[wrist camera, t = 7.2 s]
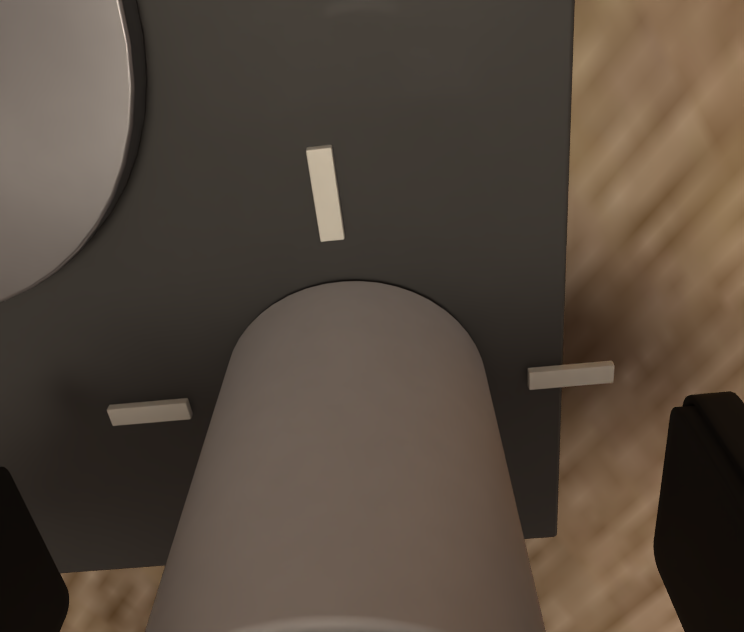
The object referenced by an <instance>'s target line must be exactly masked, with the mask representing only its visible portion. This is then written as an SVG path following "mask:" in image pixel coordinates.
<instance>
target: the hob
mask: <svg viewBox="0 0 744 632" xmlns="http://www.w3.org/2000/svg"><path fill="white" fill-rule="evenodd" d="M136 3H137V8H138V13H139V18H140V23H141V28H142V33H143V40H144V53H145V67H146V95H145V114H144V121H143V127H142V132H141V137H140V142H139V147H138V152H137V155H136V158H135V161H134V164H133V166H132V169H131V172H130V175H129V178H128V180H127V183H126V185H125V187H124V189H123V191H122V193H121V195H120V196H119V198H118V200H117V202H116V204H115V206H114V207H113V209H112V211H111V213H110V214H109V215H108V217H107V218H106V219H105V221H104V222H103V223H102V224H101V226H100V227H99V228H98V230H97V231H96V232H95V233H94V235H93V236H92V237H91V238H90V240H89V241H88V242H87V243H86V244H85V246H84V247H83V248H82V249H81V250H80V251H79V252H78V253H77V254H76V255H75V256H74V257H73V258H72V259H71V260H70V261H69V262H67V263H66V264H65V265H64V266H63V267H62V268H61V269H60V270H59V271H57V272H56V273H54V274H53V275H51V276H50V277H48V278H47V279H45V280H44V281H42V282H41V283H39V284H38V285H36V286H35V287H33V288H31V289H29V290H27V291H25V292H23V293H21V294H19V295H16V296H14V297H12V298H10V299H8V300H6V301H3V302H0V466H1V467H5V468H6V469H8V471H9V472H10V474H11V476H12V478H13V480H14V482H15V484H16V486H17V488H18V490H19V492H20V494H21V496H22V498H23V500H24V502H25V504H26V506H27V508H28V510H29V512H30V514H31V516H32V518H33V520H34V522H35V524H36V526H37V528H38V530H39V532H40V534H41V536H42V538H43V540H44V542H45V544H46V546H47V548H48V550H49V552H50V554H51V556H52V558H53V560H54V563H55V565H56V567H57V569H58V571H59V573H70V572H83V571H97V570H110V569H124V568H138V567H151V566H165V565H166V562H167V559H168V556H169V553H170V550H171V546H172V543H173V540H174V537H175V534H176V530H177V527H178V524H179V521H180V518H181V514H182V511H183V508H184V505H185V502H186V498H187V495H188V492H189V489H190V486H191V482H192V479H193V476H194V473H195V470H196V466H197V463H198V460H199V457H200V454H201V450H202V447H203V444H204V441H205V438H206V434H207V431H208V428H209V425H210V422H211V418H212V415H213V412H214V409H215V406H216V402H217V399H218V396H219V393H220V390H221V386H222V383H223V380H224V377H225V374H226V370H227V367H228V364H229V361H230V358H231V355H232V352H233V350H234V348H235V346H236V344H237V342H238V340H239V338H240V337H241V335H242V334H243V333H244V331H245V330H246V329H247V327H248V326H249V325H250V324H251V323H252V322H253V321H254V320H255V319H256V318H257V317H258V316H259V315H260V314H261V313H262V312H264V311H265V310H266V309H268V308H269V307H270V306H272V305H273V304H275V303H277V302H278V301H280V300H282V299H284V298H286V297H287V296H289V295H291V294H294V293H296V292H299V291H301V290H304V289H307V288H310V287H314V286H318V285H322V284H327V283H334V282H341V281H366V282H377V283H382V284H387V285H392V286H396V287H399V288H402V289H405V290H408V291H411V292H414V293H416V294H418V295H420V296H422V297H424V298H426V299H428V300H430V301H432V302H433V303H435V304H436V305H438V306H439V307H441V308H442V309H444V310H445V311H446V312H448V313H449V314H450V315H451V316H452V317H453V318H455V319H456V320H457V321H458V322H459V323H460V325H461V326H462V327H463V328H464V329H465V330H466V331H467V332H468V334H469V336H470V337H471V339H472V340H473V342H474V343H475V345H476V347H477V349H478V351H479V354H480V356H481V358H482V361H483V365H484V369H485V373H486V377H487V381H488V386H489V390H490V394H491V398H492V403H493V407H494V411H495V416H496V420H497V424H498V429H499V433H500V437H501V441H502V446H503V450H504V454H505V459H506V463H507V467H508V472H509V476H510V480H511V484H512V489H513V493H514V497H515V502H516V506H517V510H518V515H519V519H520V523H521V527H522V532H523V536H524V539H530V538H544V537H554V536H556V535H557V515H558V485H559V455H560V425H561V395H562V387H569V386H581V385H592V384H604V383H613V379H614V367H615V366H614V364H613V362H612V361H601V362H589V363H578V364H567V365H563V335H564V306H565V276H566V246H567V216H568V186H569V156H570V126H571V96H572V66H573V36H574V6H575V0H136Z"/></svg>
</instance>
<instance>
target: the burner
mask: <svg viewBox="0 0 744 632" xmlns="http://www.w3.org/2000/svg"><path fill="white" fill-rule="evenodd" d="M145 95H146V67H145V53H144V40H143V33H142V28H141V23H140V18H139V13H138V8H137V3H136V0H0V302H3V301H6V300H8V299H10V298H12V297H14V296H16V295H19V294H21V293H23V292H25V291H27V290H29V289H31V288H33V287H35V286H36V285H38V284H39V283H41V282H42V281H44V280H45V279H47V278H48V277H50V276H51V275H53V274H54V273H56V272H57V271H59V270H60V269H61V268H62V267H63V266H64V265H65V264H66V263H67V262H69V261H70V260H71V259H72V258H73V257H74V256H75V255H76V254H77V253H78V252H79V251H80V250H81V249H82V248H83V247H84V246H85V244H86V243H87V242H88V241H89V240H90V238H91V237H92V236H93V235H94V233H95V232H96V231H97V230H98V228H99V227H100V226H101V224H102V223H103V222H104V221H105V219H106V218H107V217H108V215H109V214H110V213H111V211H112V209H113V207H114V206H115V204H116V202H117V200H118V198H119V196H120V195H121V193H122V191H123V189H124V187H125V185H126V183H127V180H128V178H129V175H130V172H131V169H132V166H133V164H134V161H135V158H136V155H137V152H138V147H139V142H140V137H141V132H142V127H143V121H144V114H145Z"/></svg>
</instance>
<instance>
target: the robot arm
mask: <svg viewBox="0 0 744 632" xmlns="http://www.w3.org/2000/svg"><path fill="white" fill-rule="evenodd" d="M654 556H655V561H656V565H657V568H658V571H659V573H660V576H661V578H662V580H663V583H664V585H665V587H666V589H667V592H668V594H669V596H670V599H671V601H672V603H673V606H674V608H675V610H676V613H677V615H678V617H679V620H680V622H681V624H682V627H683V629H684V631H685V632H744V403H743V402H742V400H741V399H740V398H739V397H738V396H737V395H736V394H735V393H733V392H719V393H708V394H696V395H689V396H687V397H686V398H685V400H684V402H683V407H675V408H673V409H672V411H671V415H670V421H669V429H668V436H667V444H666V452H665V459H664V467H663V475H662V482H661V490H660V498H659V505H658V513H657V521H656V528H655V536H654ZM68 607H69V593H68V589H67V587H66V585H65V583H64V581H63V579H62V577H61V575H60V573H59V571H58V569H57V567H56V565H55V563H54V560H53V558H52V556H51V554H50V552H49V550H48V548H47V546H46V544H45V542H44V540H43V538H42V536H41V534H40V532H39V530H38V528H37V526H36V524H35V522H34V520H33V518H32V516H31V514H30V512H29V510H28V508H27V506H26V504H25V502H24V500H23V498H22V496H21V494H20V492H19V490H18V488H17V486H16V484H15V482H14V480H13V478H12V476H11V474H10V472H9V471H8V469H6V468H5V467H1V466H0V632H60V629H61V627H62V625H63V622H64V620H65V618H66V615H67V612H68Z"/></svg>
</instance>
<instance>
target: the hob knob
mask: <svg viewBox="0 0 744 632" xmlns="http://www.w3.org/2000/svg"><path fill="white" fill-rule="evenodd" d="M145 632H546V631H545V626H544V622H543V618H542V614H541V609H540V605H539V601H538V596H537V592H536V588H535V583H534V579H533V575H532V571H531V566H530V562H529V558H528V553H527V549H526V545H525V540H524V536H523V532H522V527H521V523H520V519H519V515H518V510H517V506H516V502H515V497H514V493H513V489H512V484H511V480H510V476H509V472H508V467H507V463H506V459H505V454H504V450H503V446H502V441H501V437H500V433H499V429H498V424H497V420H496V416H495V411H494V407H493V403H492V398H491V394H490V390H489V386H488V381H487V377H486V373H485V369H484V365H483V361H482V358H481V356H480V354H479V351H478V349H477V347H476V345H475V343H474V342H473V340H472V339H471V337H470V336H469V334H468V332H467V331H466V330H465V329H464V328H463V327H462V326H461V325H460V323H459V322H458V321H457V320H456V319H455V318H453V317H452V316H451V315H450V314H449V313H448V312H446V311H445V310H444V309H442V308H441V307H439V306H438V305H436V304H435V303H433V302H432V301H430V300H428V299H426V298H424V297H422V296H420V295H418V294H416V293H414V292H411V291H408V290H405V289H402V288H399V287H396V286H392V285H387V284H382V283H377V282H366V281H341V282H334V283H327V284H322V285H318V286H314V287H310V288H307V289H304V290H301V291H299V292H296V293H294V294H291V295H289V296H287V297H286V298H284V299H282V300H280V301H278V302H277V303H275V304H273V305H272V306H270V307H269V308H268V309H266V310H265V311H264V312H262V313H261V314H260V315H259V316H258V317H257V318H256V319H255V320H254V321H253V322H252V323H251V324H250V325H249V326H248V327H247V329H246V330H245V331H244V333H243V334H242V335H241V337H240V338H239V340H238V342H237V344H236V346H235V348H234V350H233V352H232V355H231V358H230V361H229V364H228V367H227V370H226V374H225V377H224V380H223V383H222V386H221V390H220V393H219V396H218V399H217V402H216V406H215V409H214V412H213V415H212V418H211V422H210V425H209V428H208V431H207V434H206V438H205V441H204V444H203V447H202V450H201V454H200V457H199V460H198V463H197V466H196V470H195V473H194V476H193V479H192V482H191V486H190V489H189V492H188V495H187V498H186V502H185V505H184V508H183V511H182V514H181V518H180V521H179V524H178V527H177V530H176V534H175V537H174V540H173V543H172V546H171V550H170V553H169V556H168V559H167V562H166V566H165V569H164V572H163V575H162V578H161V582H160V585H159V588H158V591H157V594H156V598H155V601H154V604H153V607H152V610H151V614H150V617H149V620H148V623H147V626H146V630H145Z"/></svg>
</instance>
